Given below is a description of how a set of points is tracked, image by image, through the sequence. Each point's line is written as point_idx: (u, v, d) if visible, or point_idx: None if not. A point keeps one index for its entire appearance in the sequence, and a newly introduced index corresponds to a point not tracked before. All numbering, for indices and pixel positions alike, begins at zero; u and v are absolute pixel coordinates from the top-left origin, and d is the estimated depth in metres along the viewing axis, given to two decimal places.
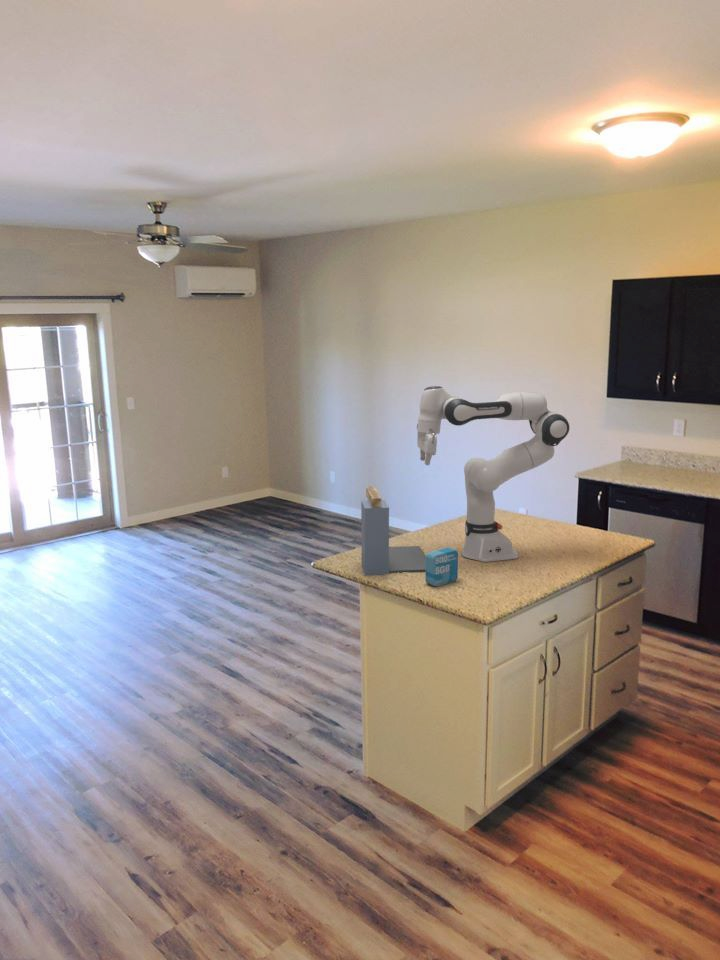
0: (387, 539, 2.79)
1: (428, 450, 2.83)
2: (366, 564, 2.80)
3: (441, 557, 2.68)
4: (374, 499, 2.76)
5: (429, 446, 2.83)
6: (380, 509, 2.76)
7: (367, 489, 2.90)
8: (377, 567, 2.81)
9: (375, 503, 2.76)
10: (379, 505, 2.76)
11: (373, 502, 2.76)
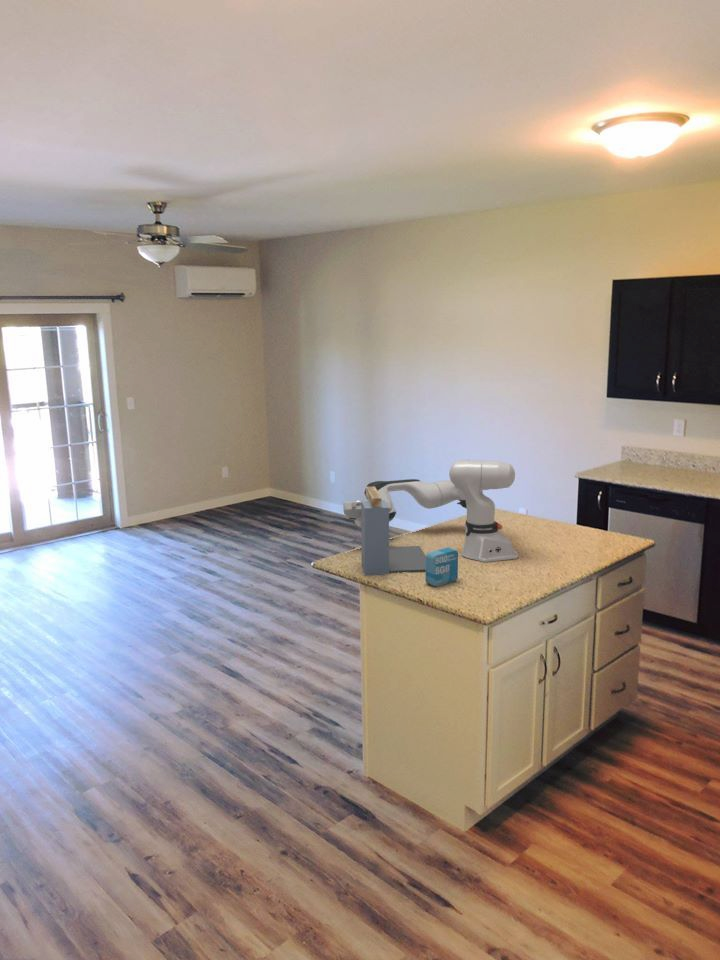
0: (387, 539, 2.79)
1: None
2: (366, 564, 2.80)
3: (441, 557, 2.68)
4: (374, 499, 2.76)
5: None
6: (380, 509, 2.76)
7: (367, 489, 2.90)
8: (377, 567, 2.81)
9: (375, 503, 2.76)
10: (379, 505, 2.76)
11: (373, 502, 2.76)
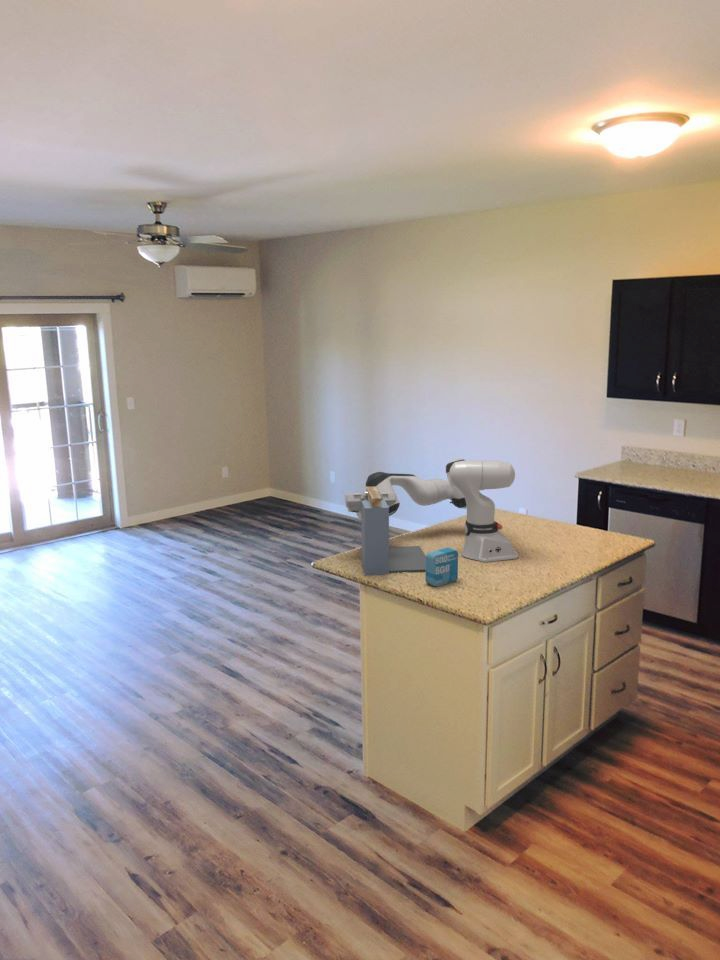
0: (387, 539, 2.79)
1: None
2: (366, 564, 2.80)
3: (441, 557, 2.68)
4: (374, 499, 2.76)
5: None
6: (380, 509, 2.76)
7: (367, 489, 2.90)
8: (377, 567, 2.81)
9: (375, 503, 2.76)
10: (379, 505, 2.76)
11: (373, 502, 2.76)
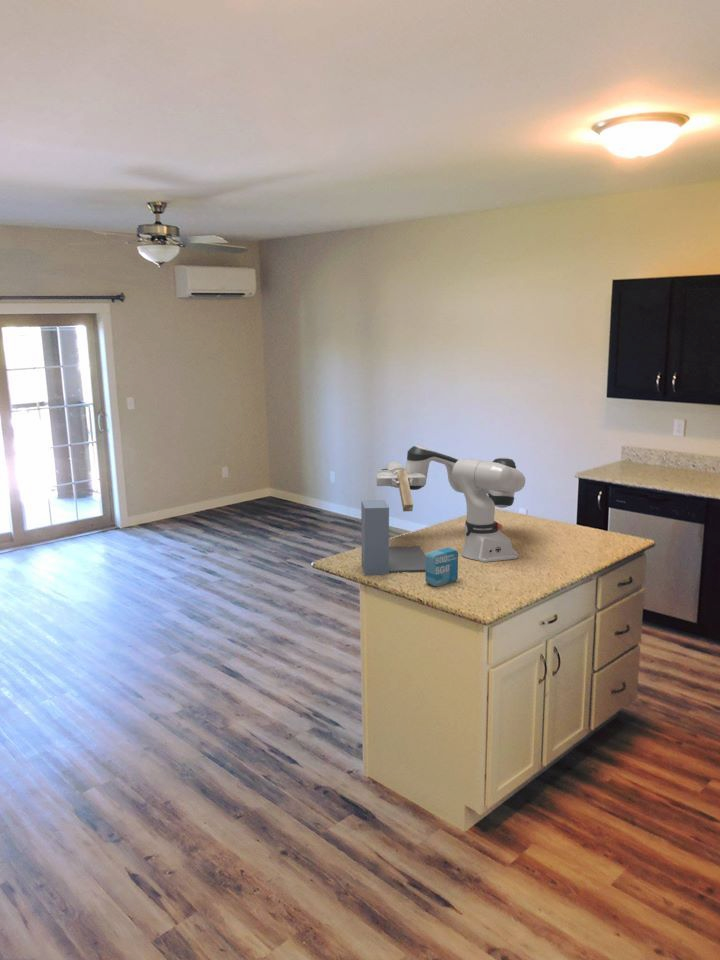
0: (387, 539, 2.79)
1: (425, 477, 3.04)
2: (366, 564, 2.80)
3: (441, 557, 2.68)
4: (406, 505, 2.87)
5: None
6: (380, 509, 2.76)
7: (399, 478, 2.98)
8: (377, 567, 2.81)
9: (407, 508, 2.88)
10: (410, 509, 2.89)
11: (405, 507, 2.88)
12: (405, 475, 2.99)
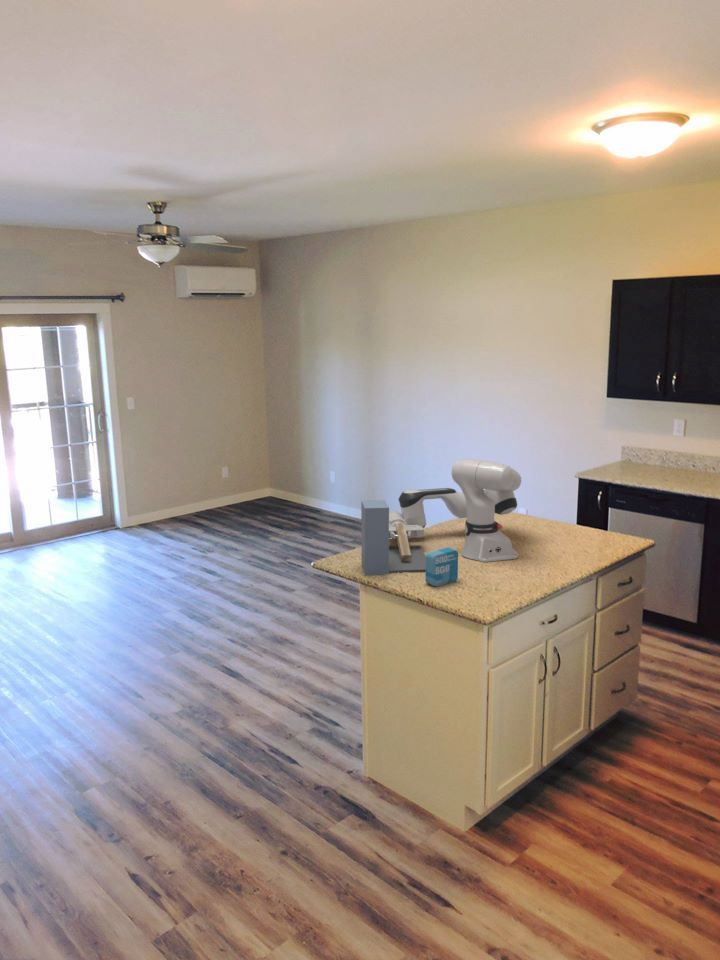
0: (387, 539, 2.79)
1: (423, 529, 3.09)
2: (366, 564, 2.80)
3: (441, 557, 2.68)
4: (404, 555, 2.91)
5: None
6: (380, 509, 2.76)
7: (397, 530, 3.03)
8: (377, 567, 2.81)
9: (404, 558, 2.92)
10: (408, 560, 2.93)
11: (403, 558, 2.92)
12: (403, 527, 3.05)
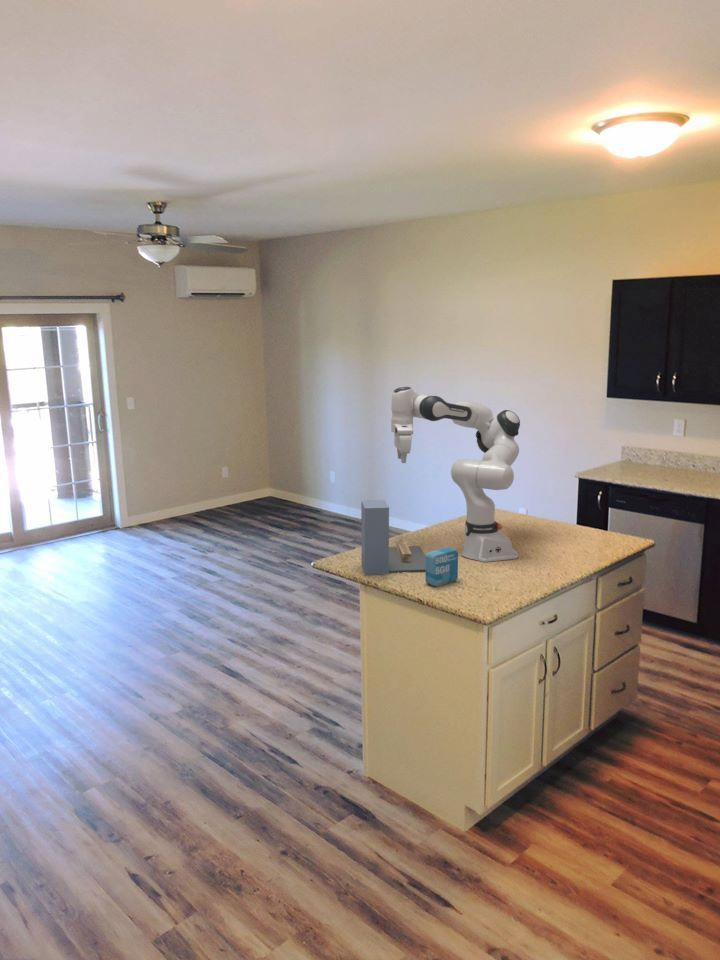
0: (387, 539, 2.79)
1: None
2: (366, 564, 2.80)
3: (441, 557, 2.68)
4: (404, 554, 2.92)
5: None
6: (380, 509, 2.76)
7: (397, 542, 3.06)
8: (377, 567, 2.81)
9: (405, 558, 2.92)
10: (409, 560, 2.92)
11: (403, 557, 2.92)
12: (403, 541, 3.08)
